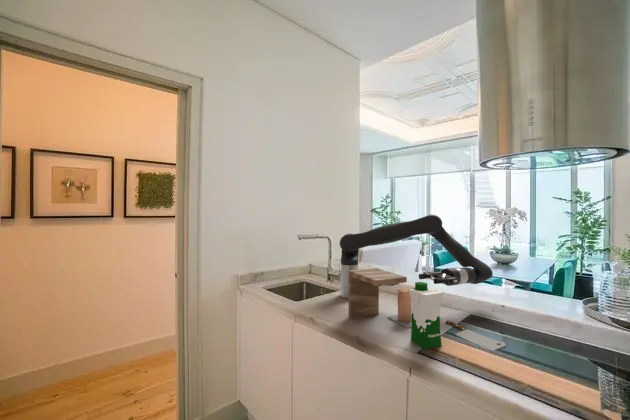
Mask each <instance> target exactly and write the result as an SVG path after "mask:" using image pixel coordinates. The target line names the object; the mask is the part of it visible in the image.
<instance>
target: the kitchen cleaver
mask: <svg viewBox="0 0 630 420" xmlns="http://www.w3.org/2000/svg"><path fill="white" fill-rule="evenodd" d="M445 325H448V326H451V327H452V328H454V329H457V330H459V331H458V332H457V333H454V335H455V336H457V337H460V338H462V339H464V340H466V341H469V342H471V343H472V344H475V345H478V346H480V347H483V348H485V349H487V350H491V351H497V350H500V349H503V348H507V344H506V343H505V342H503V341H501V340H496V339H493V338H490V337H488V336H485V335H482V334H480V333H478V332H474V331H472V329H471V330H470V329H469V328H466V327H464V326H462V325H459V324H457V323H456V322H453V321H450V320H446V321H445Z"/></svg>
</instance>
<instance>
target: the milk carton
mask: <svg viewBox="0 0 630 420" xmlns="http://www.w3.org/2000/svg"><path fill="white" fill-rule="evenodd" d="M408 290H409V291H410V296H411V311H412V327H411V330H410V331H411V332H410V334H411V335H410V342H411V343H414V344H415V345H417V346H419V347H420V348H422V349H424V350H430V349H434V348H438V347H442V337H441V336H442V335H441V303H442V298H443V294H444V293H443V292H442V291H438V290H437V289H434V288H429V287H428V283H426V282H422V281H418V282H417V281H416V282H414V288H409V289H408Z"/></svg>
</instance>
